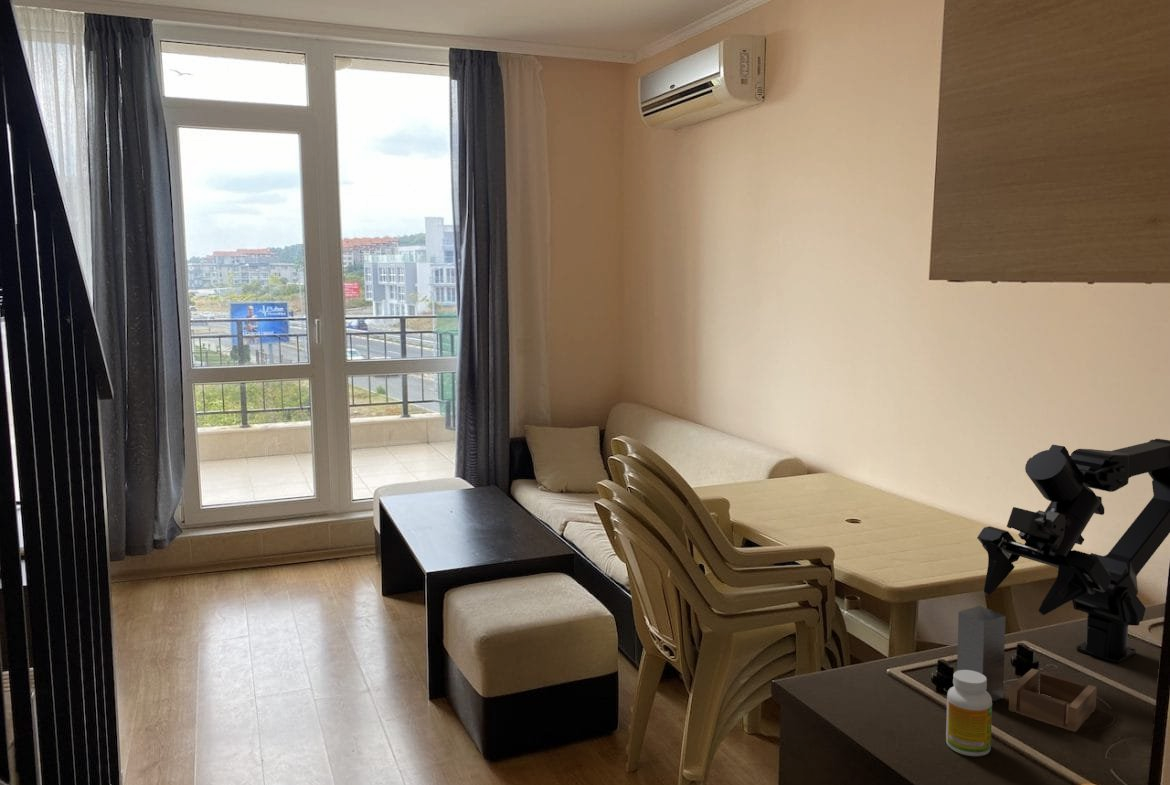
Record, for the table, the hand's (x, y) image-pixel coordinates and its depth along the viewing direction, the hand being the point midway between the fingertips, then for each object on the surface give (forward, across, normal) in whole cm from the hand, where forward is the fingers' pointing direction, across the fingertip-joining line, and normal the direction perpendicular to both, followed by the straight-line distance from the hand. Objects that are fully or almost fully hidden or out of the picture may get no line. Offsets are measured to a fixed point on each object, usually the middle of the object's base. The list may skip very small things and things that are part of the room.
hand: (1012, 603), depth 129 cm
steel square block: (+14, 0, +4) cm, 14 cm away
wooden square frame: (+10, +8, +8) cm, 15 cm away
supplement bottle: (+23, +9, -4) cm, 25 cm away
